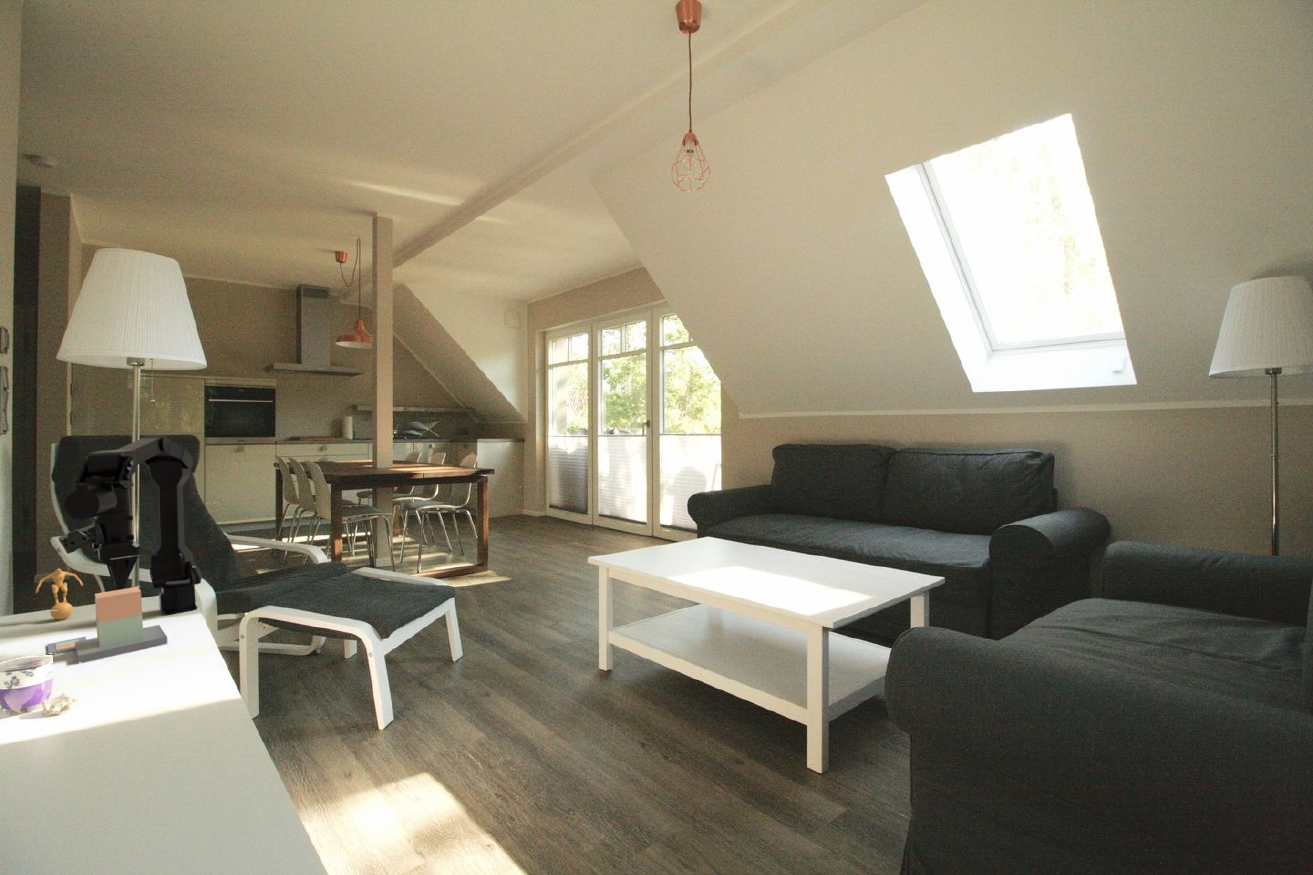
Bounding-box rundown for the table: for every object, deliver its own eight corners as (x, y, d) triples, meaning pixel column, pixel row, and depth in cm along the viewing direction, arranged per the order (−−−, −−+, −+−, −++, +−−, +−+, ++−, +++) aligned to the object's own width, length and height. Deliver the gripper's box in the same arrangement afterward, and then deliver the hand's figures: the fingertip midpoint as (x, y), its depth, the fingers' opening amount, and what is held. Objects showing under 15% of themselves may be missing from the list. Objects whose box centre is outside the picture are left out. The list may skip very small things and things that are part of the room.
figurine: (39, 625, 149) (35, 574, 148) (36, 620, 153) (33, 570, 152) (86, 616, 155) (83, 567, 154) (83, 611, 159) (79, 563, 158)
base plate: (159, 631, 143) (159, 624, 143) (167, 643, 135) (167, 636, 135) (75, 649, 133) (74, 641, 133) (78, 663, 125) (78, 655, 125)
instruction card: (85, 637, 140) (85, 635, 140) (88, 646, 134) (87, 645, 134) (47, 645, 135) (47, 643, 135) (48, 655, 130) (48, 653, 130)
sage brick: (140, 632, 138) (138, 609, 138) (143, 637, 135) (142, 614, 134) (97, 640, 133) (96, 617, 133) (99, 646, 130) (98, 622, 129)
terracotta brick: (139, 609, 138) (137, 586, 138) (142, 614, 134) (140, 591, 134) (96, 617, 133) (94, 593, 133) (98, 622, 129) (96, 598, 129)
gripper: (58, 511, 134) (63, 585, 134) (62, 521, 120) (67, 603, 121) (127, 505, 141) (131, 574, 142) (138, 514, 128) (142, 590, 129)
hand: (117, 585), depth 133 cm, fingers open, 9 cm apart
